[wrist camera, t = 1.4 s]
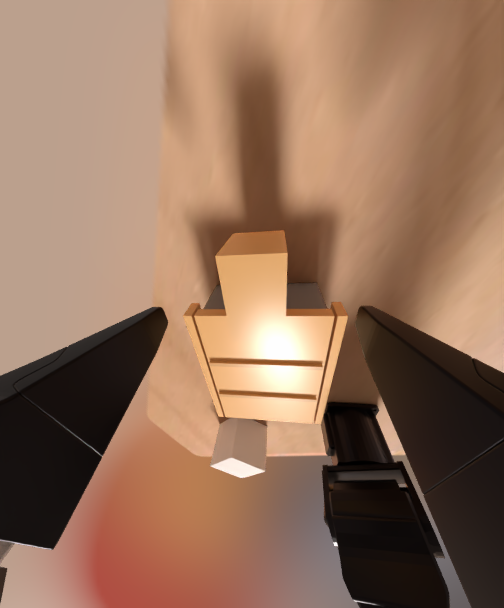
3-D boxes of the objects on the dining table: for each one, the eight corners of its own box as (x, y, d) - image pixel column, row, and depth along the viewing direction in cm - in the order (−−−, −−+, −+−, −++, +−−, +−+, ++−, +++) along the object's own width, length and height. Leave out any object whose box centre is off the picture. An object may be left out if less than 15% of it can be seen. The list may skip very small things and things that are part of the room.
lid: (356, 226, 10) (394, 248, 7) (317, 407, 20) (325, 451, 17) (172, 236, 12) (131, 259, 8) (222, 401, 22) (212, 440, 19)
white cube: (267, 425, 32) (265, 471, 27) (246, 435, 35) (241, 478, 30) (238, 412, 30) (231, 457, 25) (219, 423, 33) (209, 466, 28)
